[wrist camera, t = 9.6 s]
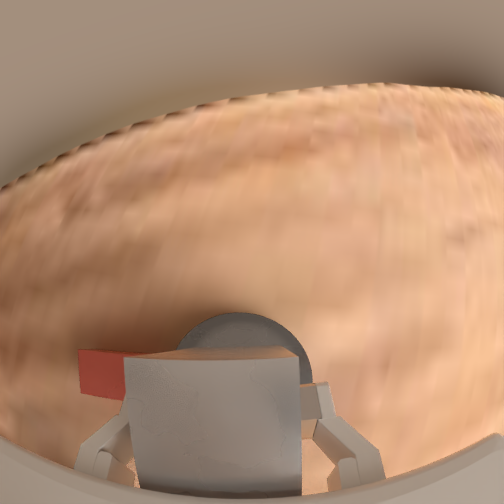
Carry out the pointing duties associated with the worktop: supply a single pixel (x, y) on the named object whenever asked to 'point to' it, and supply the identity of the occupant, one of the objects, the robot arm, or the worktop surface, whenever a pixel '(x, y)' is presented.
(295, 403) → the grey block
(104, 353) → the grey dome with handle
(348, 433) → the robot arm
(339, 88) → the worktop surface
